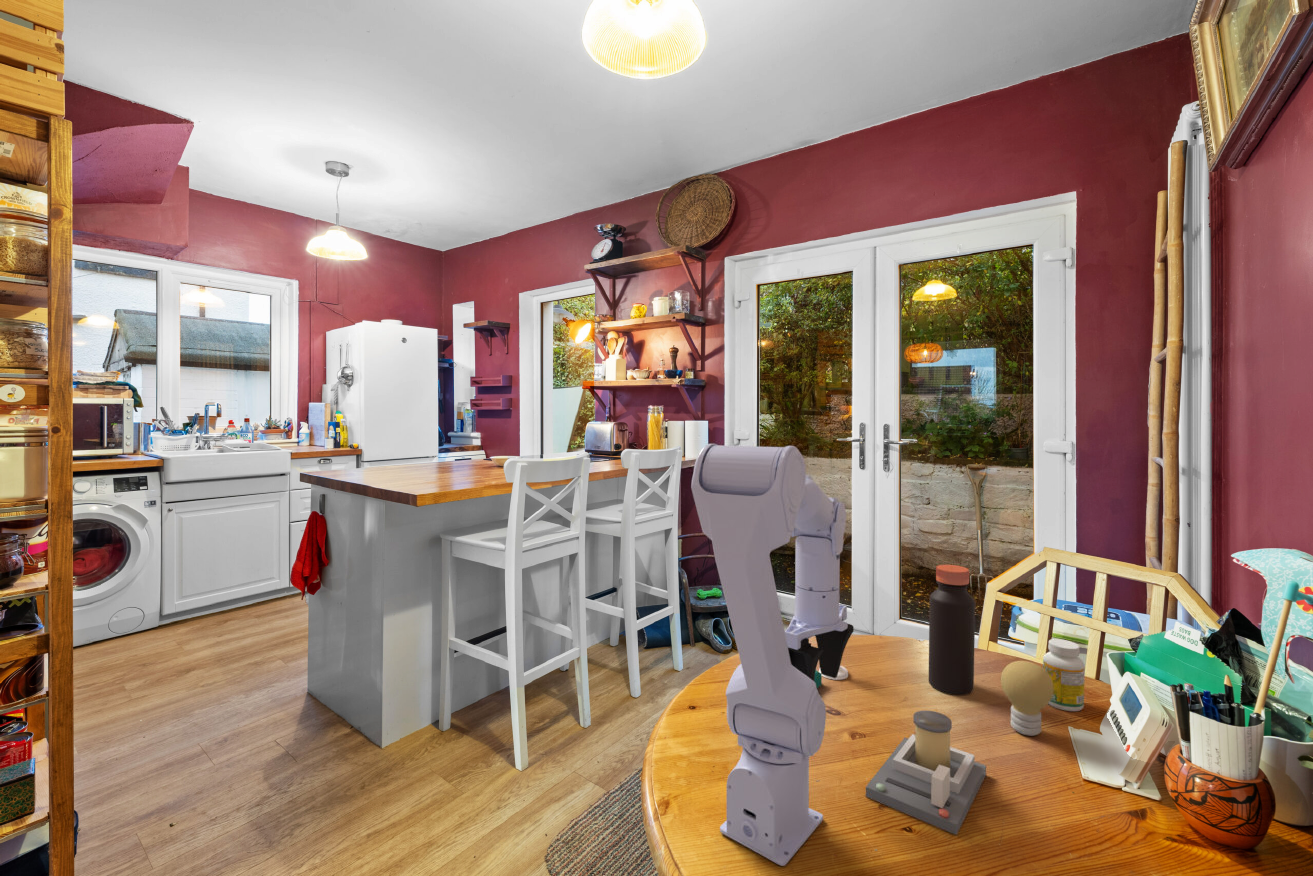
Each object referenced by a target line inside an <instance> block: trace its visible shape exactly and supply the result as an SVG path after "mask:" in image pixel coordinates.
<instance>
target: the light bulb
mask: <svg viewBox="0 0 1313 876" xmlns="http://www.w3.org/2000/svg"><path fill="white" fill-rule="evenodd" d="M1000 685H1001V687H1002V690H1003V693H1004V695H1006V698H1007V700H1009V702H1010V703H1011V706H1010V726H1011V727H1012V728H1013V729H1014V730H1015V731H1016V732H1017V733H1019V734H1022V735H1023V736H1024V735H1025V736H1031V737H1033V736H1037V735H1039V734H1040V733H1041V732H1042V712H1041V710H1042V709H1044V707H1046V706H1047V705H1049V704H1048V703H1049V701H1050V700H1051V698H1052V695H1053V683H1052V680H1051V678H1050V676H1049V674H1048V673H1047V672H1046V671H1045V670H1044V669H1043V666H1042V667H1041V666H1040V665H1039V664H1036V663H1034V662H1031V661H1027V660H1015V661H1012V662H1010V663H1008V664H1007V665H1006V666H1005V667H1004V668H1003V670H1002V672H1001V675H1000Z"/></svg>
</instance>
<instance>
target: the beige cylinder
mask: <svg viewBox="0 0 1313 876" xmlns="http://www.w3.org/2000/svg"><path fill="white" fill-rule="evenodd" d="M912 716H913V717H912V718H913V720H912V721H913V724H914V731H915V734H914V735H915V752H916V765H919V766H922V767H924V768H927V769H930V770H933V771H935V770H936V769H937V767H938V766H939V765H942V766H945V767H948V768H950V747H951V730H952V728H953V725H952V723H953V722H952V720H951V718H950V717H949V716H947V715H945V714H944V713H940V712H937V711H933V710H925V709H924V710H918V711H916V712H914V713H913V715H912Z"/></svg>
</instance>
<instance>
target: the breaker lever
mask: <svg viewBox="0 0 1313 876" xmlns="http://www.w3.org/2000/svg"><path fill="white" fill-rule="evenodd" d="M949 796H950V768H948V767H945V766H942V765H939V766H938V767H937V769H936V770H935V772H934V774H933V775H932V783H931V804H933V805H935V806H938V807H940V808H943V806H944V805H945V803H946V801H947V799H948V797H949Z"/></svg>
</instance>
